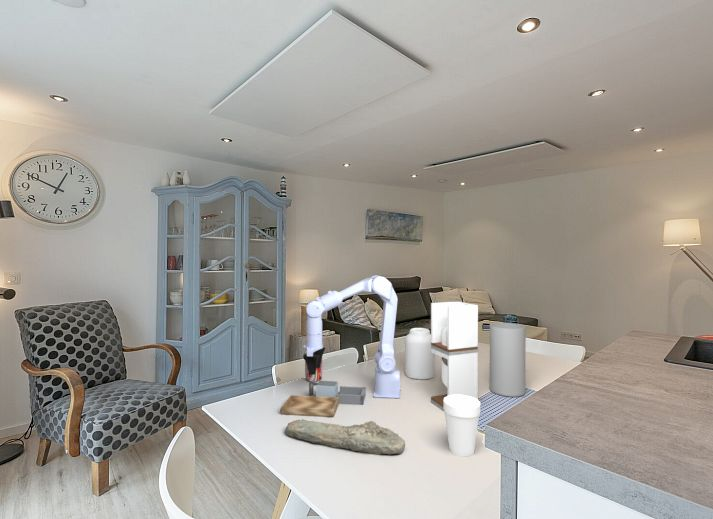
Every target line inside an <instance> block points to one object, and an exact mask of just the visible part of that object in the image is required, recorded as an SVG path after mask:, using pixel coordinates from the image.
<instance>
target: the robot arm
mask: <svg viewBox="0 0 713 519" xmlns="http://www.w3.org/2000/svg"><path fill="white" fill-rule="evenodd" d="M394 289H395V288H394V287H393V284H392V282H391V281H390V280H388V279H387V277H385V276H380V275H373V276H371V277H366V278H364V279H362V280H359V281H358V282H356V283H354V284H351V285H350V286H348V287H346V288H344V289H342V290H340V291H337V290H328V291H327V293H326V294H324V295H321V296H317V297H315V299H311V300H310V301H308V302H307V304H306V307H305V311H306V324H305V325H306V328H305V330H306V344H304V345H303V349H306V353H307V354H306V353H304V354H302V357H303V360H304V362H305V361H306V364H307V368H308V372H309V375H315V373H316V368H320V366H321V360H322V361H323V355H324V353H325V350H326V348H325V347H324V345H323V319H322V314H323V313H327V312H328V311H331V310H332V309H334V308H337V307H339V306H341V305H342V303H343V300H345V299H348V298H350V297H353V296H354V295H357V294H359V293H361V292H368V293H371V292H373V293H375V294H377V295H378V296H379V297H380V299H381V300H382V301H383V307H382V317H381V318H382V319H381V326H380V335H379V343H378V346H377V351H376V352H375V354H374V358H373V359H374V362H375V363H376V366H375V368H374V369H375V370H374V386H375V387H374V391H373V398H383V399H384V398H390V399H400V394H401V389H402V388H401V387H402V386H401V385H400V384H401V383H400V380H401V377H400V376H401V375H400V374H401V372H400V371H401V370H397V369H395V368H396V364H397V362H396V359H395V350H394V341H395V340H394V338H395V331H396V319H397V309H398V300H399V299H398V296H397V294H396V291H395V290H394Z"/></svg>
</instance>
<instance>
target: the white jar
mask: <svg viewBox="0 0 713 519" xmlns="http://www.w3.org/2000/svg"><path fill="white" fill-rule="evenodd" d="M435 355H436V354H434V353H432V352H431V330H429V329H428V328H425V327H413V328H411V329H410V330H409V333H407V335H406V337H405V341H404V365H405V366H404V373H405V375H406V377H408V378H409V379H410V378H411V379H413V380H420V381H421V380H422V381H423V380H430V379H432V378H434V376H435V368H436V367H435Z"/></svg>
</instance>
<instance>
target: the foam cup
mask: <svg viewBox="0 0 713 519" xmlns="http://www.w3.org/2000/svg"><path fill="white" fill-rule="evenodd" d="M443 409H444V411H445V412H444V411H443V412H444V419H445V425H446V433H447V434H446V435H447V440H448V441H447V442H448V447H449V450H450V452H451V453H452V454H454V455H455V456H459V457H471V456H473V455H474V454H475V449H476V441H477V435H478V434H477V433H478V427H479V419H480V415H481V401H480V400H479V399H478V400H477V399H476V398H473V397H471V396H466V395H449V396H447V397H445V398H444V400H443Z"/></svg>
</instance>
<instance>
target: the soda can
mask: <svg viewBox="0 0 713 519" xmlns="http://www.w3.org/2000/svg"><path fill="white" fill-rule="evenodd" d="M305 354H307V352H306V353H305ZM304 372H305V373H304V375H305V380H306V381H307V382H308V383H309V382H314V383H318V382H319V381H321V380H322V378H323V359H322V360H321V366H320V368H316V373H315V375H309V372H308V368H307V364H306V361H305V360H304Z"/></svg>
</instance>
